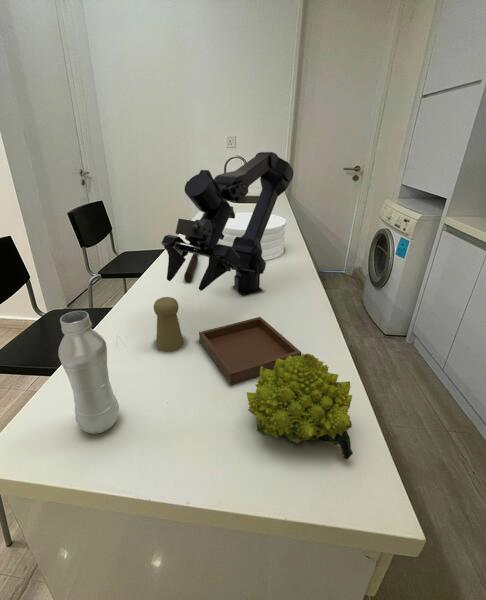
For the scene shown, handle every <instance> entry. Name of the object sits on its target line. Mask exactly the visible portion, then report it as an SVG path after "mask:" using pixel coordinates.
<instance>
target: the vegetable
mask: <svg viewBox="0 0 486 600" xmlns="http://www.w3.org/2000/svg"><path fill="white" fill-rule="evenodd" d="M324 363H325V361H320V360H319V358H317V357H316V356H314V355H313V354H311V353H301V356H297V355H296V356H294V355H293V357H292V356H290V355H289V356H288V357H287V358H285V361H284V360H282V359H278V358H276V362H275V366H274V370H269V369H265V368H264V367H262V366H261V368H260V376H258V377H257V379H258V380H257V381H256V384H255V385H254V386H255V387H256V388H255V392H250V391H246V397H247V402H248V405H249V407H248V409H247V411H249V412H250V413H251V414H252V415H253V416H254V417H255V423H256V432H258V433H260V434H261V435H262V436H263V437H264V436H268V435H271V436H272V437H275V438H276V439H278V437H279V436H280V437H284V438H287V439H288V441H289V442H294V443H295V444H300V443H301V442H302V441H303V442H304V441H308V440H309V441H311V440H314V441H317V443H321V442H326V443H329V444H331V445H336V446H338V445H339V447H340V451H341V455H342V458H343V460H346V461H347V460H348V461H349V459H350V457H351V456H352V455H354V452H353V450H352V444H351V443H352V442H351V437H350V435H349V432H348V430H349V429H350V428H351V429H352V427H353V423H352V420H351V416H350V415H349V414H348V412H349V409H350V408H351V402H352V399H353V394H349V393H350V389H351V381H340V382H339V381H337V380H338V377H339V374H337V373H331V372H329V366H328V364H324Z"/></svg>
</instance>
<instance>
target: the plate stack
mask: <svg viewBox="0 0 486 600" xmlns="http://www.w3.org/2000/svg"><path fill="white" fill-rule="evenodd" d="M234 213H235V218H234V219H233V218H229V219H228V221H227V223H226V226H225V228H224V230H223V232H222V233H223V235H224V238H223V240H222V239H219V241H218V243H217V244H221V245H226V246H231V247H232V245H233V242H234V239H235V238H236V237H242V236H243V235H244V234H245V231H246V229H247V226H248V224H249V221H250V219H251V216H252V214H253V211H252V212H251V211H250V212H246V211H245V212H234ZM286 226H287V219H286V218H284V217H283V216H280V215H277V214H272V213H271V215H270V218H269V221H268V223H267V226H266V228H265V231H264V233H263V236H262V239H261V241H260V243H261V248H262V255H261V257H262V258H263V259H264V261H269V260H272V259H273V260H274V259H276V258H279V257H280V256H282V255H283V254H284V252H285V239H286V231H287V227H286Z"/></svg>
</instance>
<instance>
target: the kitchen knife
mask: <svg viewBox="0 0 486 600" xmlns="http://www.w3.org/2000/svg"><path fill="white" fill-rule="evenodd" d="M191 255H192V256H191V258H190V261H189V263H188V265H187V267H186V269H185V272H184V274H183V275H184V276H183V277H184V278H183V279H184V281H185V283H191V282H192V279H193V276H194V273H195V270H196V267H197V264H198V261H199V257H198V256H199V255H197V254H193V253H192V254H191Z"/></svg>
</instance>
